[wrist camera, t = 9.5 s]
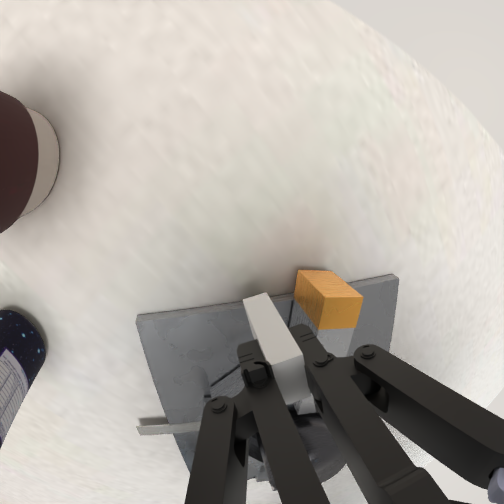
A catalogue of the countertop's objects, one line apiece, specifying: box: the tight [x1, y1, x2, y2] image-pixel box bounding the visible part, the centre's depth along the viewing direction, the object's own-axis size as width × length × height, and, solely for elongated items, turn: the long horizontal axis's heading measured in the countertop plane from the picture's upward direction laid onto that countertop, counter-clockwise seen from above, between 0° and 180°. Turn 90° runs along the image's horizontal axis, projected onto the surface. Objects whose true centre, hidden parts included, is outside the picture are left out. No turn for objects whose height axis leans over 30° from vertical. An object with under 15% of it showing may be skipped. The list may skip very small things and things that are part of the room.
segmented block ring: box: [204, 270, 364, 491], centre depth 21 cm, size 14×20×5 cm
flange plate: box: [136, 274, 399, 489], centre depth 21 cm, size 24×23×8 cm
